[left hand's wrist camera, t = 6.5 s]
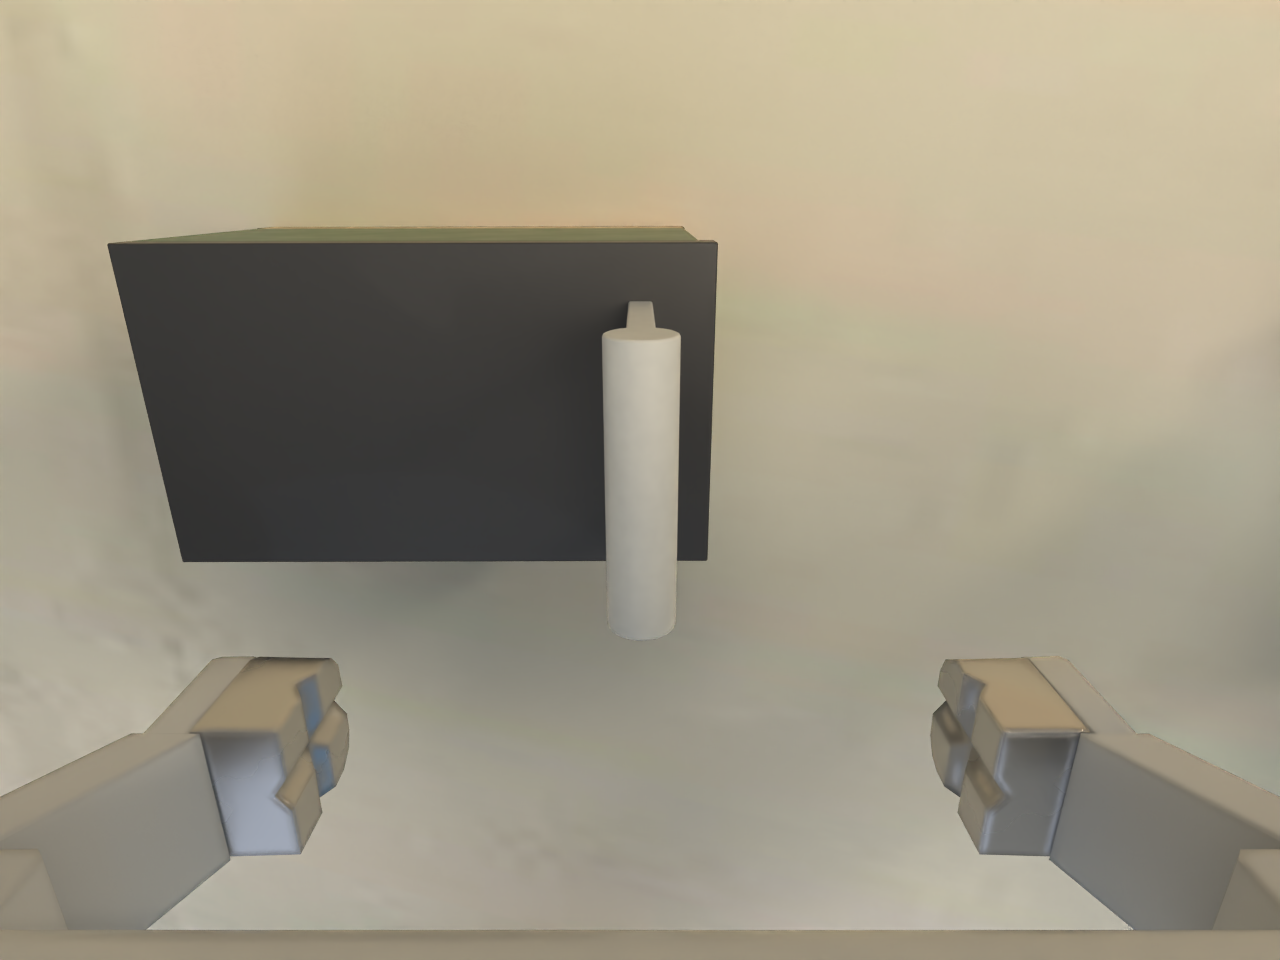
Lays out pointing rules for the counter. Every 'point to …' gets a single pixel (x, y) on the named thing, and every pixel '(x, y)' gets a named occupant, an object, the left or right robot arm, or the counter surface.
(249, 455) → the lid
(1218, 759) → the counter surface
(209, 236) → the chest
